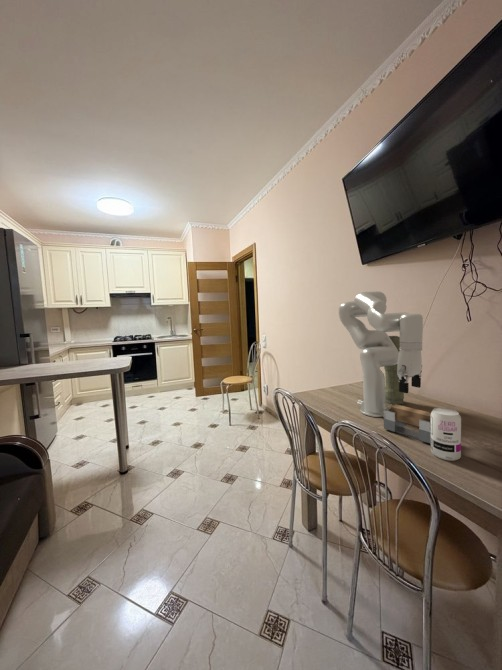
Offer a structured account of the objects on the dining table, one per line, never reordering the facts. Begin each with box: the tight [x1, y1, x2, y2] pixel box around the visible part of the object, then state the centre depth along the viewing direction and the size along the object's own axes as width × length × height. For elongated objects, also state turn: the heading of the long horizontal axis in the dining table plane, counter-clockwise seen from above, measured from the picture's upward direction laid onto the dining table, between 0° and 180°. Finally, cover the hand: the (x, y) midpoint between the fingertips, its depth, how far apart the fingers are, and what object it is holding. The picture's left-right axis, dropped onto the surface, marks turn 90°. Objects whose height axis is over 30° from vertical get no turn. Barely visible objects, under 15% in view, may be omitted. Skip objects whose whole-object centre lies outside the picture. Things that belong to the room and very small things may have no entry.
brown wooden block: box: [390, 404, 431, 427], centre depth 104 cm, size 14×4×5 cm, turn 35°
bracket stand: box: [383, 406, 431, 445], centre depth 105 cm, size 19×8×8 cm, turn 35°
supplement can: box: [430, 407, 462, 462], centre depth 89 cm, size 8×8×15 cm
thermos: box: [383, 335, 405, 406], centre depth 140 cm, size 9×12×35 cm
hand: (409, 389), depth 104 cm, fingers open, 9 cm apart
